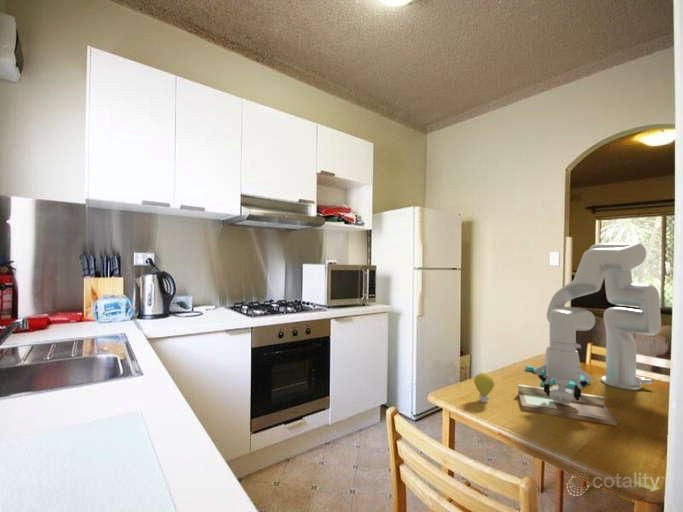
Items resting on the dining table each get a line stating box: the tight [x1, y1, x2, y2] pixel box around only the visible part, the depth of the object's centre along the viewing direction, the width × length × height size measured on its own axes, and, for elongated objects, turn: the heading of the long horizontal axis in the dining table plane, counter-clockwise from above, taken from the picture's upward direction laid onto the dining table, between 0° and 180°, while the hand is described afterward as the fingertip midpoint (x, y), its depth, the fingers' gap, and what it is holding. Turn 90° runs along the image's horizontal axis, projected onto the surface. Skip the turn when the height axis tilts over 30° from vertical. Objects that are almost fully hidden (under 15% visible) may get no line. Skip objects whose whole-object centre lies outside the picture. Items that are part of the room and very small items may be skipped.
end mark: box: [523, 393, 557, 409], centre depth 116 cm, size 9×10×1 cm
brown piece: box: [517, 383, 618, 427], centre depth 113 cm, size 26×13×4 cm, turn 67°
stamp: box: [549, 379, 574, 404], centre depth 113 cm, size 9×7×8 cm
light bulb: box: [473, 372, 495, 403], centre depth 119 cm, size 7×7×10 cm
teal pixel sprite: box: [525, 365, 591, 390], centre depth 140 cm, size 20×2×20 cm
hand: (561, 396), depth 113 cm, fingers closed on stamp, 7 cm apart
